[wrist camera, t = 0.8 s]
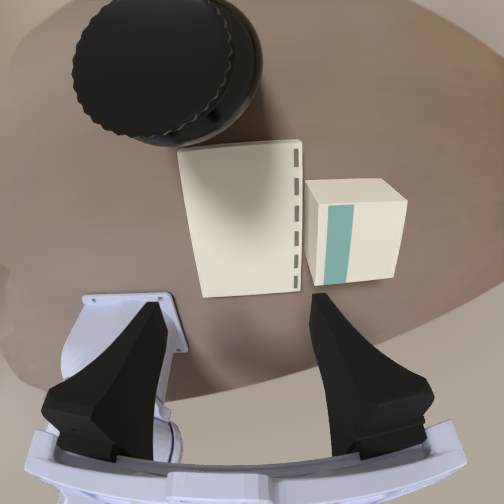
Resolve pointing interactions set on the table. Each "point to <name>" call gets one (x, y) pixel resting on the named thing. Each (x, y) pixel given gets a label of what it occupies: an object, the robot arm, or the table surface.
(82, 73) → the supplement bottle
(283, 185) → the ticket
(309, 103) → the table surface
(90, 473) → the robot arm
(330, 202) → the teal striped cube
